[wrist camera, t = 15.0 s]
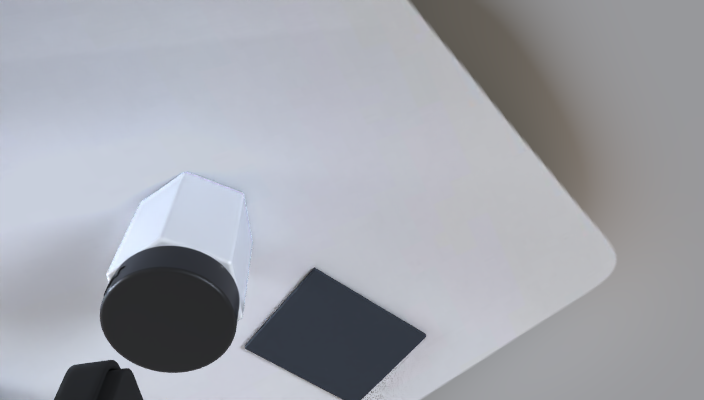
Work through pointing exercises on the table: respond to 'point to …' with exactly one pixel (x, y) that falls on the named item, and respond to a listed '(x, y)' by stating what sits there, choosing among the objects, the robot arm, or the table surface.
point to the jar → (179, 276)
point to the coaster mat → (334, 338)
